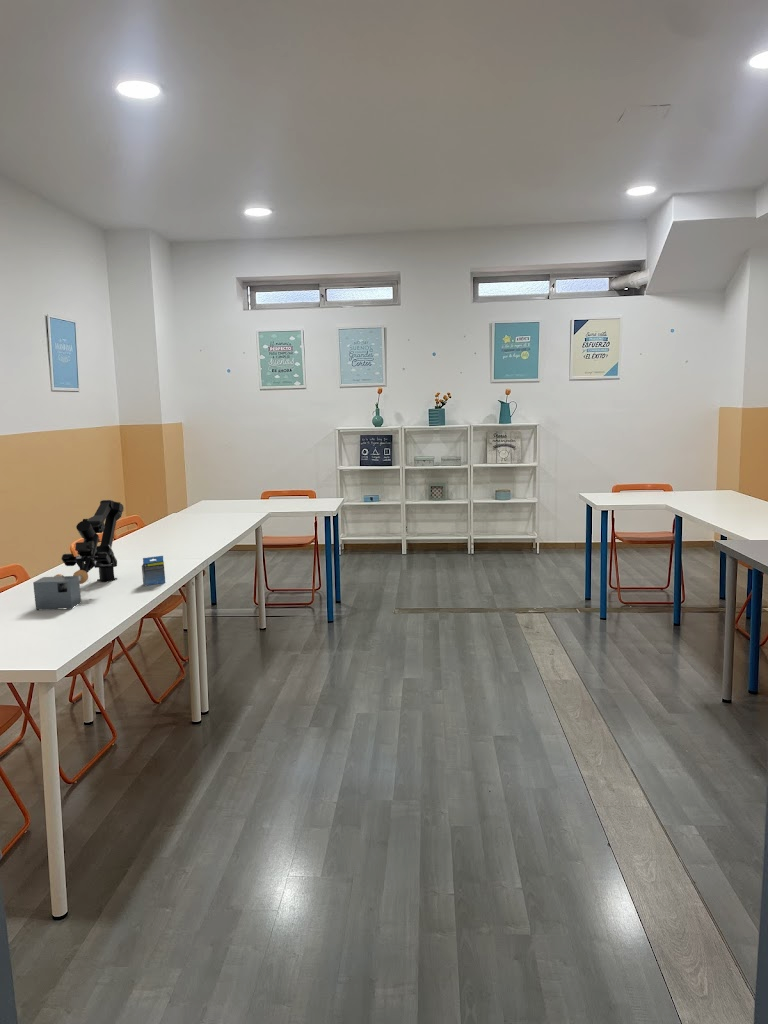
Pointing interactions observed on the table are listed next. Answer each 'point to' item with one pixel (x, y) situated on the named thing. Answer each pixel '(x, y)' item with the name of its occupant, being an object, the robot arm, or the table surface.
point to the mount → (57, 592)
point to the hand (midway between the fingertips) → (82, 576)
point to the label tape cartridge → (153, 570)
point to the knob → (82, 577)
